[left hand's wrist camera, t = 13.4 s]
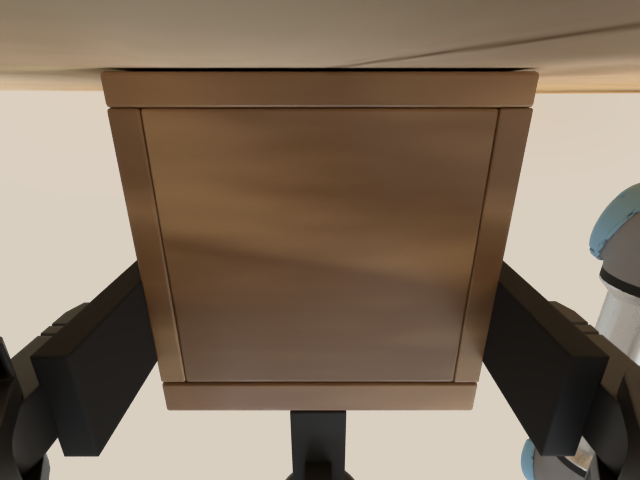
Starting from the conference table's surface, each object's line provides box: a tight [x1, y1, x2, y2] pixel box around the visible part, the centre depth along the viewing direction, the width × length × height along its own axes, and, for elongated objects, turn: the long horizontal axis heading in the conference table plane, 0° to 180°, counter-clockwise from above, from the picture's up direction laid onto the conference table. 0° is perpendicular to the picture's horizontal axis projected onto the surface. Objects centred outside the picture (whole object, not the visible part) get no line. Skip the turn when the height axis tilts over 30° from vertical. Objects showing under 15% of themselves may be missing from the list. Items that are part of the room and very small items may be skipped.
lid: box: [163, 380, 477, 410], centre depth 20 cm, size 15×10×8 cm, turn 0°
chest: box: [101, 71, 539, 382], centre depth 16 cm, size 14×10×9 cm
